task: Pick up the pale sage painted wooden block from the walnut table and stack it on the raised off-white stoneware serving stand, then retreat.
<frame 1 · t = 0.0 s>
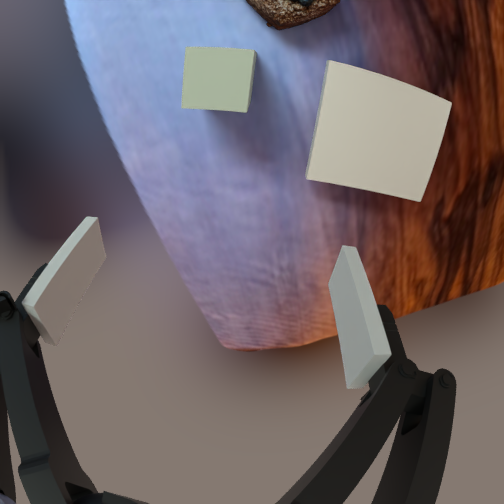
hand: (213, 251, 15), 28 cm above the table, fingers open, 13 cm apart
serving stand: (373, 128, 36), on the table
sage block: (227, 75, 33), on the table
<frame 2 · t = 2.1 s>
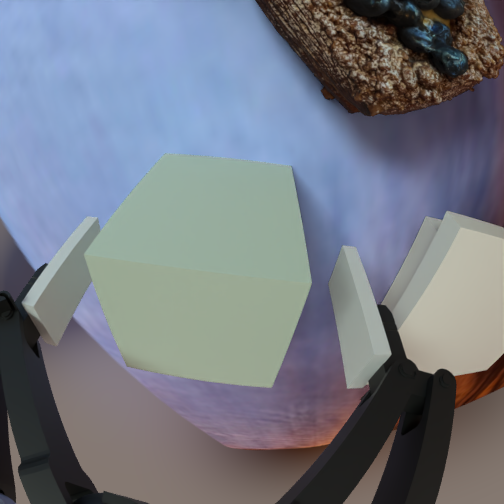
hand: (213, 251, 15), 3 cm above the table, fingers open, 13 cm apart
serving stand: (462, 288, 20), on the table
sage block: (222, 212, 17), on the table
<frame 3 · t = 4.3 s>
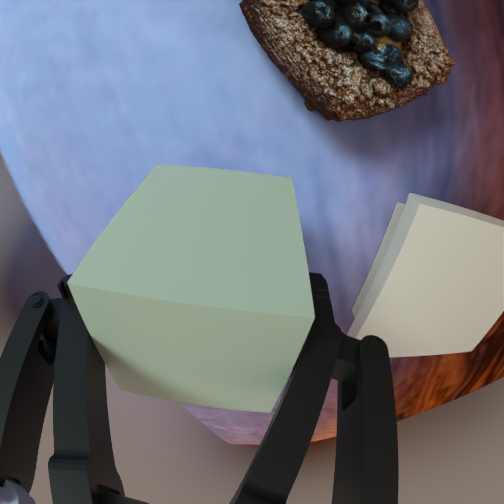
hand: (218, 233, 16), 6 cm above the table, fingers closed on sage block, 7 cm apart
serving stand: (439, 270, 24), on the table
pastry: (341, 27, 14), on the table
sage block: (219, 226, 16), point 5 cm above the table, touching gripper
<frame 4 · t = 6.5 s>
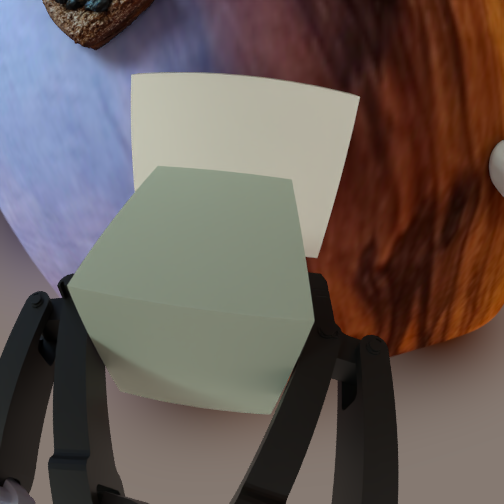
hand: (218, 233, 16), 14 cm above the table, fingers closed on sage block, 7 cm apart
teacup: (499, 167, 25), on the table
serving stand: (238, 153, 27), on the table
sage block: (219, 228, 16), point 13 cm above the table, touching gripper
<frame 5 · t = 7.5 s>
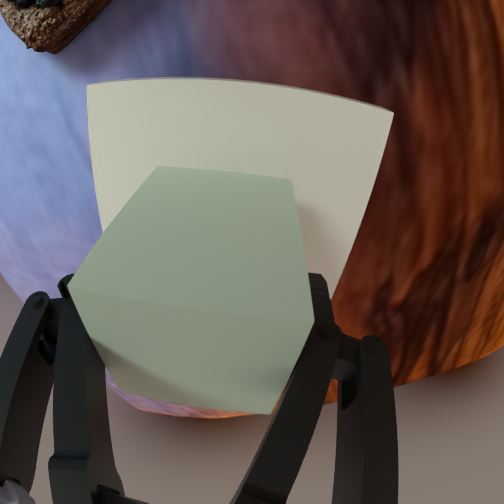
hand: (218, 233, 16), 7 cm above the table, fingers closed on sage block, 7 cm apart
serving stand: (230, 181, 22), on the table
sage block: (219, 228, 16), point 7 cm above the table, touching gripper
when the fingers open (5 cm above the table, at t = 8.6 s): sage block stays where it is, resting on serving stand.
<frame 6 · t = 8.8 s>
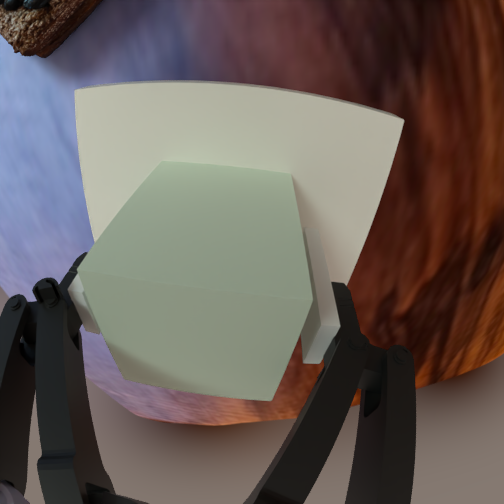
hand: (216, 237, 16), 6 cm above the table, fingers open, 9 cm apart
serving stand: (228, 190, 21), on the table
sage block: (221, 221, 17), point 4 cm above the table, touching serving stand
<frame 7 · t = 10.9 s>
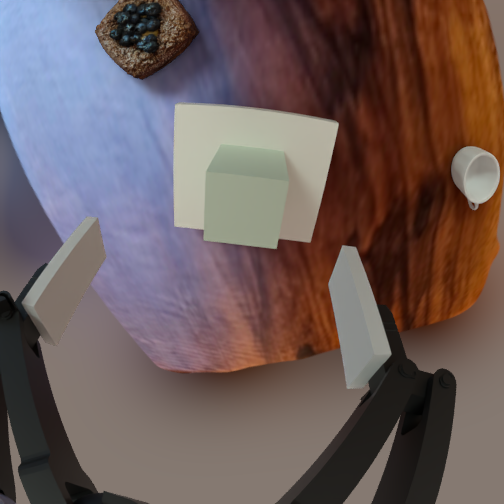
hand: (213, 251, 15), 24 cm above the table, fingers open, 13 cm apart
teacup: (462, 170, 34), on the table
serving stand: (250, 164, 37), on the table
pastry: (149, 30, 26), on the table
sage block: (249, 175, 33), point 4 cm above the table, touching serving stand
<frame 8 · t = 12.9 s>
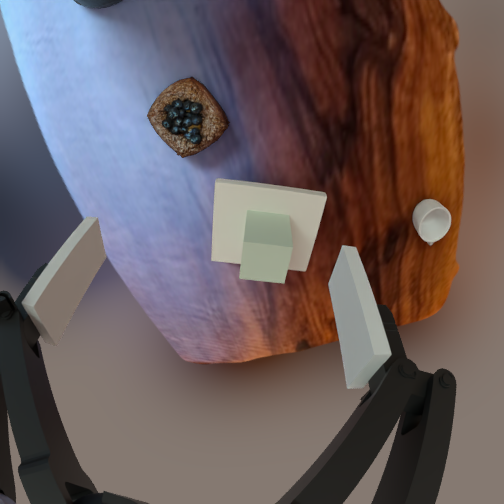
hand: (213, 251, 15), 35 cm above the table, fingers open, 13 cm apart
teacup: (423, 214, 51), on the table
serving stand: (265, 217, 54), on the table
pastry: (189, 115, 43), on the table
sage block: (265, 230, 50), point 4 cm above the table, touching serving stand
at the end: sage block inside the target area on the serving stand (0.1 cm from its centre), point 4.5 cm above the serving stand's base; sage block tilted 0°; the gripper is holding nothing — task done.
